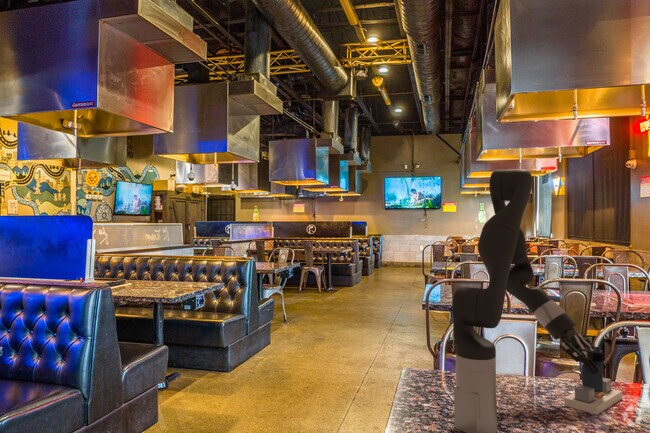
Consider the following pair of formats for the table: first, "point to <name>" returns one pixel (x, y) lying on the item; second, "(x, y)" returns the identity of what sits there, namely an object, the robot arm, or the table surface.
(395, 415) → the table surface
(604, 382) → the key right
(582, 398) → the key left
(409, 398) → the table surface
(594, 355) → the vaping device
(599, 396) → the key mid
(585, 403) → the keypad base
